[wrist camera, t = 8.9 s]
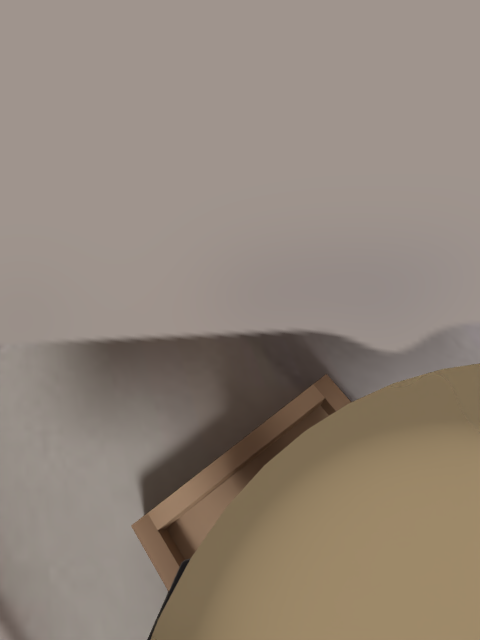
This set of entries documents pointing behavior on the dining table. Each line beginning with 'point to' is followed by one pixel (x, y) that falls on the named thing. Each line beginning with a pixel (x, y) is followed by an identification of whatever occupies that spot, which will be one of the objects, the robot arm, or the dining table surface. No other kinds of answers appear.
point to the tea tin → (351, 528)
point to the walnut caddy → (227, 480)
